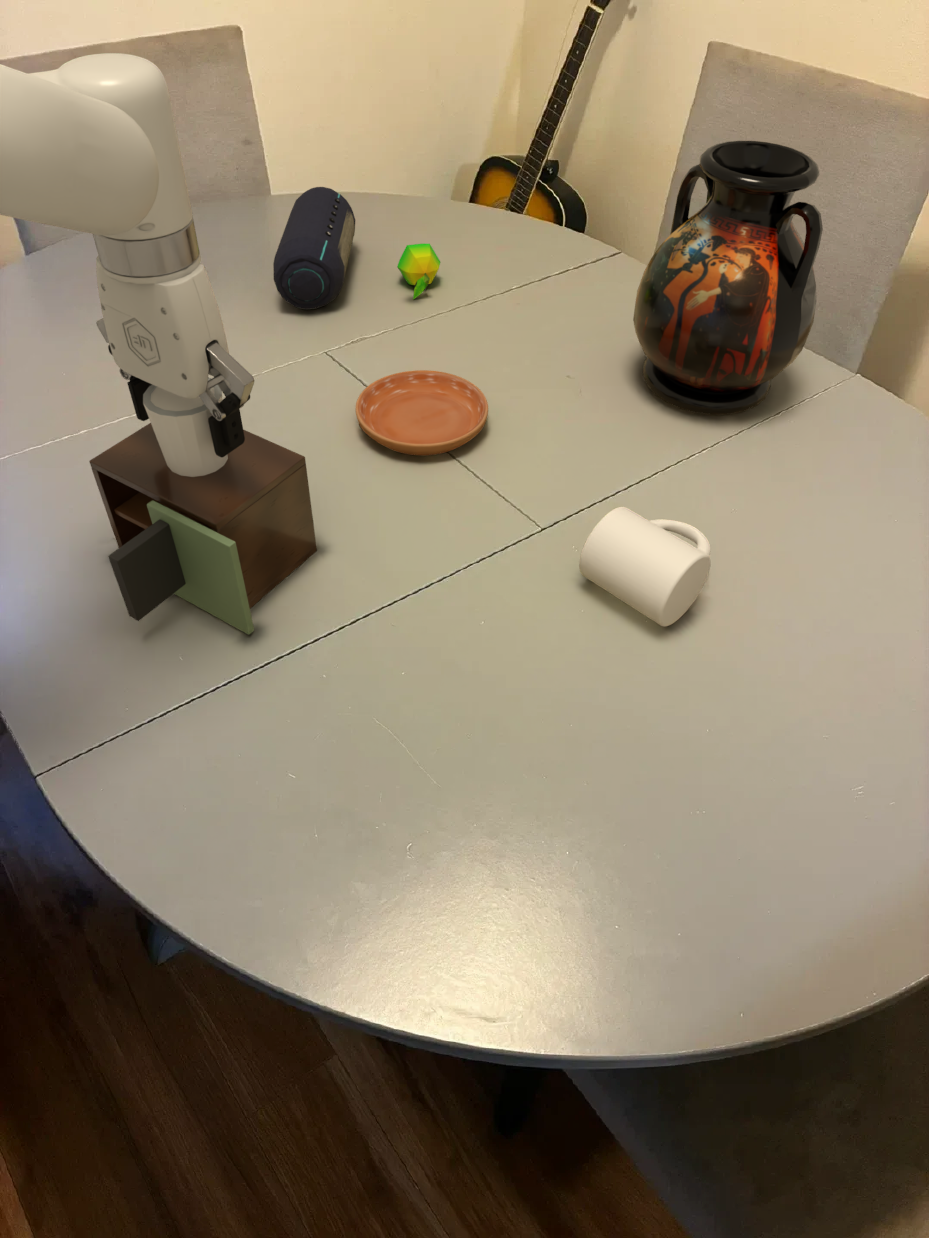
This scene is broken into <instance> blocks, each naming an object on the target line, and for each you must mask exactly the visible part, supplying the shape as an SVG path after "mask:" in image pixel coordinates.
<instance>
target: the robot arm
mask: <svg viewBox="0 0 929 1238" xmlns="http://www.w3.org/2000/svg"><path fill="white" fill-rule="evenodd" d="M173 110H174V109H173V104H172V100H171V94H170V90H169V87H168V83H167V80H166V77H165V76H164V73H163V72H162V71H161V69H160V68H159V67H158V66H157V65H156V64H155V63H153V62H152V61H151V60H149V59H147V58H145V57H143V56H142V57H141V56H138V55H134V54H130V53H120V52H119V53H118V52H106V53H93V54H87V55H82V56H79V57H75V58H73V59H71V60H68V61H66V62H65V63H63V64H61V65H60V66H59V67H58V68H56V69H52V70H51V69H50V70H45V71H37V72H29V73H27V72H24V71H21V70H19V69H16V68H13V67H9V66H7V65H4V64H1V63H0V216H4V217H9V218H13V219H17V220H23V221H27V222H32V223H37V224H41V225H47V226H51V227H57V228H62V229H66V230H72V231H76V232H82V233H86V234H91V235H92V237H93V241H94V245H95V248H96V252H97V256H96V259H95V270H96V271H95V273H96V282H97V283H96V285H97V290H98V297H99V298H98V299H99V304H100V310H101V313H102V317H101V318H100V319H98V320H96V321H95V322H96V323H95V324H96V327H97V329H98V330H99V332H100V334H101V336H102V337H103V339H104V341H105V342H106V344H108V346H107V348H108V353H109V354H110V355H111V356H112V357H113V360H114V363H115V365H116V366H117V367H118V368H119V374H120V376H121V377H122V379H124V380H125V381H127V382H126V384H127V387H128V391H129V394H130V398H131V401H132V405H133V408H134V411H135V412H134V413H135V416H136V418H137V420H139V421H142V422H145V421H148V420H150V419H149V417H148V414H147V412H146V409H145V407H144V404H143V394H144V393H145V391H146V390H147V389H148V388H149V386H151V385H155V386H157V387H159V388H162V389H164V390H166V391H169V392H171V393H173V394H176V395H178V396H181V397H184V398H187V399H195V398H197V397H200V398H201V400H202V401H203V403H204V404H205V405H206V407H207V408H208V410H209V411H210V412H211V414H212V416H211V417H209V418H208V422H209V427H210V432H211V436H212V441H213V446H214V450H215V453H216V455H217V456H219V457H224V456H226V455H227V454H229V453H230V452H232V451H233V450H234V449H236V448H237V447H239V446H240V445H242V444H243V443H244V441H245V436H244V431H243V430H244V426H243V421H242V415H241V409H242V408H243V407H244V406H245V404H246V403H247V402H248V401H249V400H250V399H251V394H252V390H253V387H254V385H255V378H254V375H252V373H250V372H249V371H248V370H247V369H246V368H245V367H244V366H243V365H241V363H240V362H239V361H237V360H236V359H235V358H234V357H233V356H232V355H231V354H230V350H229V346H228V340H227V336H226V332H225V331H226V330H225V327H224V322H223V319H222V316H221V312H220V309H219V304H218V302H217V298H216V295H215V292H214V289H213V286H212V283H211V280H210V277H209V275H208V273H207V269H206V268H205V265H204V264H203V263H201V261H202V257H201V251H200V247H199V242H198V237H197V231H196V226H195V220H194V217H193V211H192V206H191V200H190V193H189V188H188V184H187V179H186V173H185V169H184V163H183V158H182V152H181V147H180V142H179V137H178V136H179V135H178V132H177V131H178V130H177V126H176V121H175V116H174V111H173ZM209 376H210V377H211V376H212V378H211V379H210V380H209V381H208V377H209ZM216 385H218V386H219V388H220V389H221V390H222V394H223V395H224V396H225V397H224V398H222V399H223V400H222V401H221V402H220V403H219V402H218V400H217V399H216V397H215V396H214V395H213V393H212V392H211V390H210V389H211V388H213V387H215V386H216Z"/></svg>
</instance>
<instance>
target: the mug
mask: <svg viewBox="0 0 929 1238" xmlns="http://www.w3.org/2000/svg"><path fill="white" fill-rule="evenodd" d="M673 533H675V534H678V535H679V536H682V537H683V538H686V539H688V540H690V541H691V542H693V543H694V544H695V545H696V546H694V545H692V544H690V543H689V542H687V541H686V540H684V539H682V538H680V537H678V536H677V535H675V534H673ZM711 550H712V548H711V545H710V541H709V540H708V538H707V536H706V535H705V534H704V533H703V532H702V531H701V530H700V529H698V528H697V527H695V526H693V525H691V524H689V523H686V522H683V521H679V520H673V519H665V518H663V519H662V518H659V519H658V518H657V519H650V520H649V519H647V518H645V517H644V516H642V515H640V514H638V513H637V512H635V511H633V510H632V509H630V508H628V507H626V506H617V507H616V508H613V509H611V510H610V511H609V512H607V513H606V514H605V515H604V516H602V518H601V519H600V520H599V521H598V522H597V523H596V525H595V526H594V528H593V529H592V530H591V531H590V533H589V535H588V536H587V539H586V541H585V543H584V545H583V547H582V550H581V553H580V556H579V561H578V562H579V563H578V567H579V572H580V574H581V575H582V577H584V578H585V579H587V580H589V581H590V582H592V583H594V584H595V585H597V586H598V587H600V588H601V589H603V590H604V591H606V592H607V593H609V594H611V595H612V596H613V597H616V598H617V599H618V600H620V601H622V602H623V603H625V604H626V605H628V606H629V607H631V608H632V609H634V610H636V611H637V612H638V613H640V614H642V615H643V616H645V617H647V618H648V619H649V620H651V621H653V622H654V623H656V624H657V625H659V626H661V627H668V626H671V625H673V624H675V623H676V622H677V621H678V620H680V618H681V617H682V616H684V615H685V613H686V612H687V611H688V610H689V609H690V607H691V606H692V605H693V603H694V602H695V600H696V599H697V597H698V596H699V595H700V593H701V591H702V589H703V587H704V586H705V583H706V581H707V579H708V576H709V573H710V570H711V565H712V564H711V563H712V562H711V556H710V555H711Z"/></svg>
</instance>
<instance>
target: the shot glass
mask: <svg viewBox="0 0 929 1238" xmlns="http://www.w3.org/2000/svg"><path fill="white" fill-rule="evenodd" d="M210 379H212V378H211V377H209V376H208V381H209V380H210ZM210 390H211V392H212V393H213V395H214V396H215V397H216V399H217V400H218V402H219V403H220V402H221V401H222V400H223V399H224V398H223V392H222V390H221V389H220V388H219V386H218V385H216V386H215V387H213V388H211V389H210ZM143 404H144V407H145V409H146V412H147V414H148V417H149V419H148V420H149V423H151V425H152V427H153V430H154V432H155V435H156V438H157V440H158V443H159V445H160V448H161V450H162V453H163V456H164V458H165V461H166V463H167V466H168V467H169V468H170V469H171V471H172V472H174V473H177V474H179V475H181V476H189V477H196V476H205V475H207V474H210V473H213V472H216V471H217V470H218V469H220V468H221V467H222V466H224V464H225V463H226V461H227V459H228V454H227V455H226V456H224V457H219V456H217V455H216V453H215V450H214V446H213V441H212V436H211V432H210V427H209V422H208V418H209V417H211V416H212V414H211V412H210V411H209V410H208V408H207V407H206V405H205V404H204V403H203V401H202V400H201V398H200V397H197V398H195V399H187V398H184V397H181V396H178V395H176V394H173V393H171V392H169V391H166V390H164V389H162V388H159V387H157V386H155V385H151V386H149V388H148V389H147V390H146V391H145V393H144V394H143Z"/></svg>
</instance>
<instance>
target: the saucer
mask: <svg viewBox="0 0 929 1238" xmlns="http://www.w3.org/2000/svg"><path fill="white" fill-rule="evenodd" d="M354 409H355V410H354V411H355V415H356V416H355V417H356V419H357V423H358V424H359V426H360V428H361V429H362V431H363V432H364V433H365V434H366V435H367V436H368V437H369V438H371V439H372V440H373V441H375V442H376V443H377V444H379V445H381V446H383V447H386V448H387V449H389V450H392V451H394V452H396V453H400V454H404V455H410V456H419V457H421V456H423V457H425V456H437V455H441V454H445V453H448V452H451V451H453V450H456V449H458V448H460V447H462V446H464V445H465V444H467V443H469V442H470V441H472V440H473V439H474V438H476V436H478V435H479V433H481V431H482V430H483V428H484V427H485V425H486V424H487V423H486V422H487V420H488V416H489V403H488V399H487V397H486V396H485V394H484V393H483V391H482V390H481V389H480V388H479V387H478V386H477V385H476V384H474V383H473V382H471V381H469V380H467V379H466V378H463V377H461V376H458V375H455V374H452V373H449V372H445V371H438V370H430V369H429V370H426V369H425V370H424V369H420V370H419V369H418V370H416V369H415V370H407V371H401V372H396V373H393V374H389V375H386V376H382V377H381V378H378V379H377V380H375V381H373V382H372V383H370V384H369V385H368V386H366V387H365V388H364V389H363V390H362V391H361V392H360V394H359V395H358V397H357V399H356V402H355V408H354Z"/></svg>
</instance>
